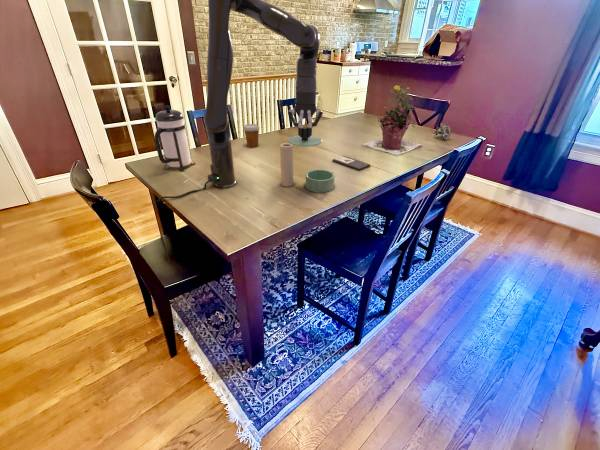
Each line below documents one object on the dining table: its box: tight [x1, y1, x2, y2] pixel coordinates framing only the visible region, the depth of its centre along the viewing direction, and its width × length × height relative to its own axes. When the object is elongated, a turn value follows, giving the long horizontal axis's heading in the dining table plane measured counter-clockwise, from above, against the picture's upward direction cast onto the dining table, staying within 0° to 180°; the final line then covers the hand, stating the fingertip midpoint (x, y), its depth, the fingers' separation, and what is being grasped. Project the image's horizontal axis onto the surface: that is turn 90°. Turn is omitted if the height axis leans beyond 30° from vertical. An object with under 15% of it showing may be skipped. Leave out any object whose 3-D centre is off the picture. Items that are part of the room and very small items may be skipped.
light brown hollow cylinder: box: [279, 142, 294, 187], centre depth 134 cm, size 5×5×18 cm
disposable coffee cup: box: [243, 123, 260, 148], centre depth 184 cm, size 10×10×12 cm
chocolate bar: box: [332, 155, 371, 172], centre depth 161 cm, size 9×1×18 cm
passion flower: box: [432, 122, 452, 141], centre depth 199 cm, size 11×11×12 cm
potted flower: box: [362, 82, 422, 157], centre depth 178 cm, size 27×25×35 cm
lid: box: [287, 126, 323, 148], centre depth 120 cm, size 14×14×6 cm
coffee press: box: [154, 104, 196, 172], centre depth 148 cm, size 17×16×30 cm
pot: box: [305, 169, 335, 193], centre depth 136 cm, size 13×13×6 cm
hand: (304, 136), depth 120 cm, fingers closed on lid, 2 cm apart
